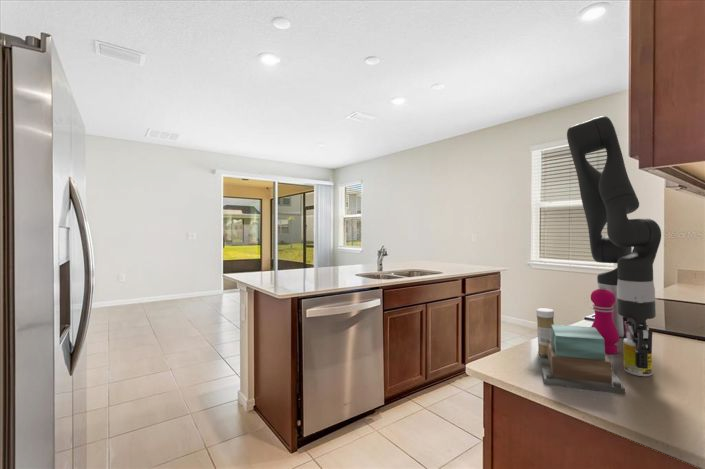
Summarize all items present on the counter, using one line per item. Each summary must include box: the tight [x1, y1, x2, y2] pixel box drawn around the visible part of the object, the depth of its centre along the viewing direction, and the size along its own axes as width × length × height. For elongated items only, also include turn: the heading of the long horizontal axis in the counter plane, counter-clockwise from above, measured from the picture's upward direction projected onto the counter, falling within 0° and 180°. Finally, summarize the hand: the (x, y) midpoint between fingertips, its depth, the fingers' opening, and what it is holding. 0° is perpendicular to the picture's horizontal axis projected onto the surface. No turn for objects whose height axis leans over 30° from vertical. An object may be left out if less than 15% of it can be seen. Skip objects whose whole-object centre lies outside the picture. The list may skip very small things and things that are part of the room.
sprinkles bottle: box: [535, 307, 555, 356], centre depth 102 cm, size 5×5×14 cm
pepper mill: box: [590, 284, 620, 355], centre depth 103 cm, size 7×7×20 cm
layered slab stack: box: [539, 324, 626, 395], centre depth 88 cm, size 16×16×11 cm
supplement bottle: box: [622, 331, 653, 377], centre depth 88 cm, size 6×6×10 cm
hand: (637, 362), depth 88 cm, fingers open, 5 cm apart
